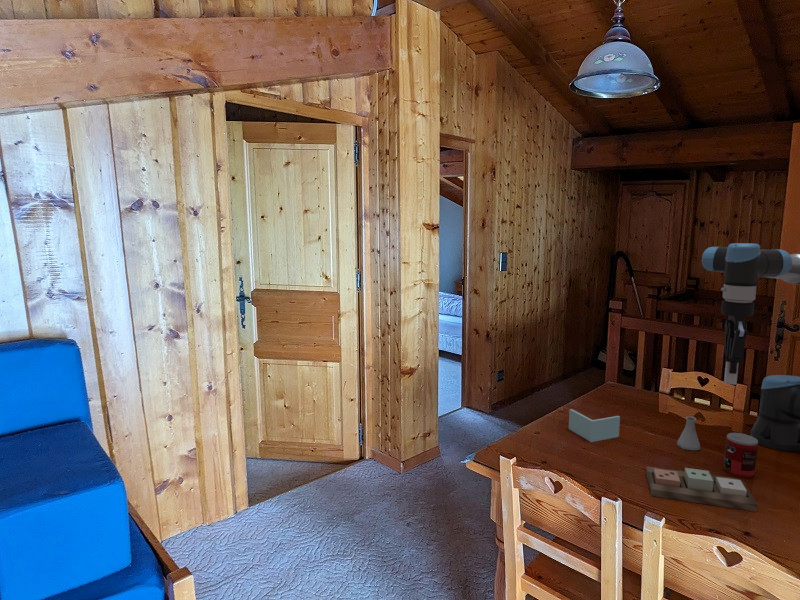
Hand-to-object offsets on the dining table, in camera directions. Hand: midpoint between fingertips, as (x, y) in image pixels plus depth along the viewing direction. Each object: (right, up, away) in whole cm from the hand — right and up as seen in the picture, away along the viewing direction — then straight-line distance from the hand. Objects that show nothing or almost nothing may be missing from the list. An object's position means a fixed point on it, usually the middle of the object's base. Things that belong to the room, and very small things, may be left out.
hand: (730, 383), depth 145 cm
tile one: (-1, -31, -1) cm, 31 cm away
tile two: (-8, -29, +1) cm, 30 cm away
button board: (-8, -31, +2) cm, 32 cm away
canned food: (+10, -29, +12) cm, 33 cm away
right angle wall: (-23, -25, +41) cm, 53 cm away
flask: (+5, -26, +29) cm, 40 cm away
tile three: (-16, -30, +4) cm, 34 cm away
